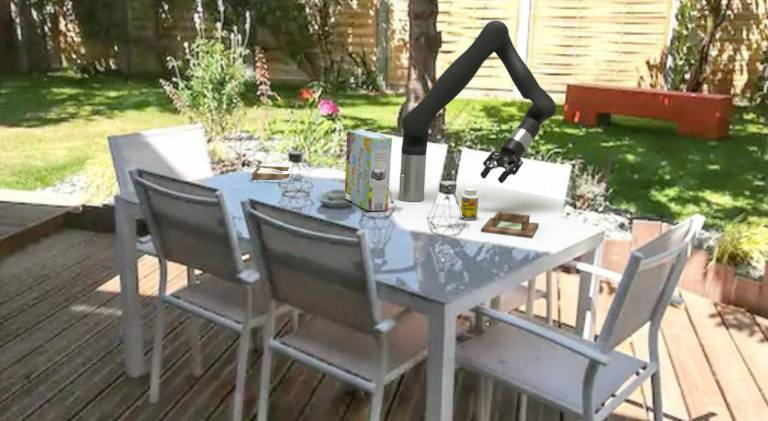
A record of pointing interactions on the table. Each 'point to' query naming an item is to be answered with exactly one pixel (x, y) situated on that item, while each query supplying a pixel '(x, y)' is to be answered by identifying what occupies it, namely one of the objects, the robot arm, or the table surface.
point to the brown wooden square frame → (510, 225)
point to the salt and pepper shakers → (269, 171)
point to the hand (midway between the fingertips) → (490, 179)
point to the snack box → (367, 169)
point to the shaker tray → (270, 176)
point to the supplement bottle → (469, 204)
